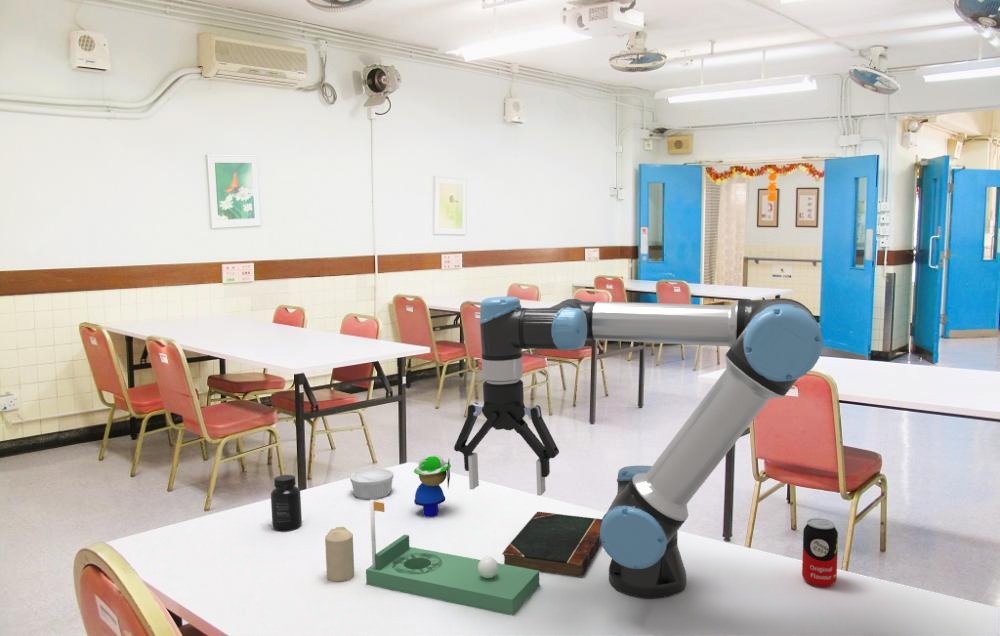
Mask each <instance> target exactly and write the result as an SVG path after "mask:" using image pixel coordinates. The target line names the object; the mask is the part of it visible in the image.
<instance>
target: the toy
mask: <svg viewBox="0 0 1000 636" xmlns="http://www.w3.org/2000/svg"><path fill="white" fill-rule="evenodd" d="M451 467H452V466H451V464H450V459H448V461H447V462H445V460H444V458H443V457H442V456H441V455H439V454H437V453H427V454H425V455H424V456H422V457H421V458H420V460H419V463H418V466H417V467H415V468H414V470H413V473H414V474H415V475H418V478H419V480H420V482H421V483H420V484H419V485H418V486H417V488H416V491H415V494H414V500H413V501H414V504H415V505H416V506H421V507H422V510H423V511H422V512H423V516H424V517H426V518H433V517H436V516H438V512H439V505H440V504H442V503H444V502H446V496H445V494H444V491H443V488H442V487H441V484H442V483H444V481H446V478H447V481H446V482H447V488H449V485H450V481H451V480H450V479H451V470H450V469H451Z"/></svg>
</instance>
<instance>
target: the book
mask: <svg viewBox="0 0 1000 636" xmlns="http://www.w3.org/2000/svg"><path fill="white" fill-rule="evenodd" d="M601 522H602V518H594V517H585V516H580V515H579V516H576V515H571V514H570V515H569V514H559V513H555V512H546V511H536V513H534V515H533V516H532V517H531V518H530V520H528V521H527V523H526V524H525V525H524V527H523V528H522V529H521V530H520V531H519V532H518V534H517V535H516V536H515V537H514V538H513V539H512V541H510V543H509V544H508V545H507V546H506V547H505V549H504V550H503V552H502V553H501V554H502V555H503V558H504V561H503V562H504V563H503V564H505V565H511V566H516V567H522V568H527V569H532V570H538V571H539V573H541V572H542V573H547V574H548V573H549V574H554V575H562V576H569V577H570V576H571V577H576V578H580V579H582V578H583V576H584V575H585V573H586V572H587V569H588V568H589V566H590V564H591V562H592V561H593V559H594V558H595V556H596V555H597V553H598V550H599V549H600V547H601V546H602V543H601V539H600V527H601Z"/></svg>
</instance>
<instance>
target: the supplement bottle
mask: <svg viewBox="0 0 1000 636" xmlns="http://www.w3.org/2000/svg"><path fill="white" fill-rule="evenodd" d="M273 481H274V482H273V483H274V484H273V486H274V489H272V490H271V493H270V503H271V504H270V506H271V520H272V521H271V523H272V528H273V529H274V530H276V531H279V532H287V531H293V530H296V529H298V528H300V527H301V526H302V523H303V519H302V515H303V514H302V501H301V499H302V498H301V497H302V496H301V490H300V488H299V487H297V486H296V483H297V482H296V476H295V475H294V474H282V475H278V476H275V478H274V479H273Z"/></svg>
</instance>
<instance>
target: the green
mask: <svg viewBox="0 0 1000 636" xmlns="http://www.w3.org/2000/svg"><path fill="white" fill-rule="evenodd" d="M385 510H386V509H385V503H384V502H380V501H375V499H369V511H370V513H369V514H370V532H371V533H370V535H371V536H370V537H371V555H372V556H371V559H372V561H371V563H372V565H370V566H369V567H367V568H366V569H365V577H366V578H365V580H366V581H365V582H366V585H370V586H375V587H380V588H383V589H387V590H393V591H399V592H403V593H406V594H407V593H408V594H411V595H416V596H422V597H426V598H431V599H435V600H441V601H445V602H450V603H454V604H459V605H465V606H469V607H472V608H476V609H477V608H478V609H482V610H487V611H491V612H497V613H500V614H506V615H511V616H513V615H514V614H515V613H516V612H517V611H518V610H519V609H520V607H522V605H523V604H524V603H525V602H526V601H527V599H528V598H529V597H531V595H532V594H533V593H534V592H535V591H536V590H537V589H538V588H539V586H540V571H538V570H532V569H527V568H522V567H516V566H511V565H505V564H504V563H499V562H497V563H498V572H497V574H496V575H495V576H494V577H492V578H484V577H482V576H481V575H480V573H479V571H478V564H479V562H480V560H481V559H478V558H471V557H468V556H462V555H455V554H450V553H446V552H445V553H444V552H439V551H433V550H430V549H429V550H428V549H424V548H418V547H413V546H410V534H409V535H408V534H403V535H402V536H400V537H399V538H397V539H396V540H394V541H392V542H391V543H389V544H388V545H387V546H385V547H384V548H383V549H381V550H380V551H378V552H377V544H376V543H377V542H376V540H377V539H376V520H375V519H376V517H375V511H376V512H381V513H385Z"/></svg>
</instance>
